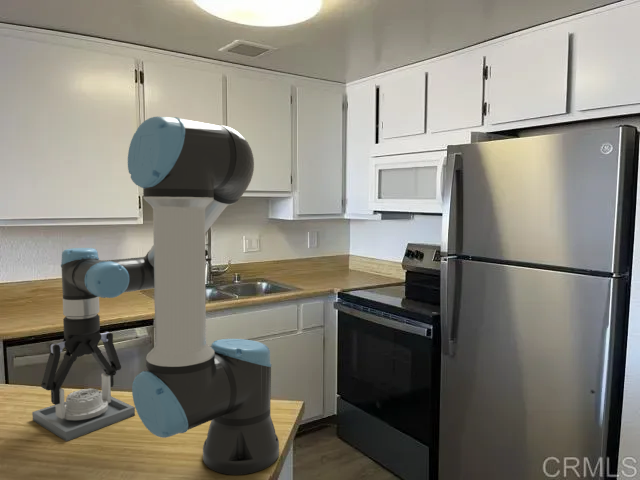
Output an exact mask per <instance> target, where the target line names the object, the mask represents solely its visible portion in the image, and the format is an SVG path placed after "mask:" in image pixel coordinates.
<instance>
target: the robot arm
mask: <svg viewBox="0 0 640 480" xmlns="http://www.w3.org/2000/svg"><path fill="white" fill-rule="evenodd" d="M254 159H255V158H254V154H253V150H252V148H251V147H250V144H249V142H248V141H247V139H246V138H245V137H244V136H243V135H242V134H241V133H240V132H238V131H237V130H235V129H234V128H232V127H230V126H226V125H222V124H213V123H208V122H202V121H196V120H190V119H187V118H179V117H176V116H175V117H173V116H171V117H169V116H153V117H152V116H151V117H149V118H147V119H146V120H144V121H143V122H142V123H140V125H139V126H137V129H136V131H135V133H134V134H133V136H132V137H131V140H130V144H129V146H128V153H127V171H128V173H129V175H130V179H131V181H132V182H133V183H134V184H135V185H136V186H137V187H139V188H142V189H143V190H142V191H143V192H142V195H143V196H142V197H143V198H142V199H143V200H144V201H145V202H146V203H148V205H149V206H151V208H152V221H153V223H152V225H153V227H152V228H153V229H152V231H153V245H152V246H151V248H150V249H149V250H148V252H147V253H146V254H145V256H139V257H131V258H119V259H117V258H116V259H106V260H105V259H103V260H101V259H100V258H99V254H98V250H97V249H96V248H93V247H73V248H66V249H63V251H62V252H61V264H60V268H61V286H62V287H61V288H62V289H61V290H62V315H64V317H63V319H62V320H63V335H64V337H63V340H62V341H61V342H58V343H54V342H50V343H49V345H48V347H49V350H48V351H49V355H48V359H47V363H46V366H45V370H44V374H43V377H42V382H41V383H40V384H41V388H42V389H43V390H46V391H50V401H51V404H53V405H55V406H56V416H57V417H59V418H61V419H63V418H65V402H66V401H65V389H64V388H62V386H63V383H64V382H65V380H66V378H67V376H68V374H69V372H70V370H71V368H72V365H73V364H74V363H75V362H76V360H77V359H78V358H80V357H81V358H82V357H83V356H85V355H87V356H88V355H92V357H94V359H95V361H96V362H97V364H98V365H99V366H100V367H101V369H102V370H103V372H104V373H101V391H102V399H105V400H107V402H108V403H110V402H111V396H112V392H111V391H112V389H111V388H113V387H114V381H115V380H114V376H115V375H116V374H117V371H120V370H121V368H122V365H121V362H120V360H119V357H118V353H117V351H116V347H115V344H114V334H113V333H112V332H109V331H104V332H103V333H100V328H101V323H100V321H101V319H100V315H99V313H100V298H103V299H106V298H107V299H113V298H117V297H119V296H120V295H122V294H123V293H130V292H137V291H142V290H150V289H151V290H152V289H153V291H154V293H153V294H154V297H153V298H154V342H155V343H154V347H153V348H152V349H151V350H150V351H149V352H148V353H147V354H146V358H145V361H146V362H145V363H146V365H145V367H146V370H144V371H141V372H139V373H138V374H137V375H136V376H135V377H134V380H133V381H132V387H131V392H132V393H131V394H132V401H133V405H134V407H135V411H136V413H137V415H138V417H139V419H140V420H141V423H142V424H143V425H144V427H145V428H146V429H147V430H148V431H149V432H150V433H151V434H152V435H154V436H156V437H158V438H163V439H164V438H170V437H173V436H175V435H178V434H184V433H187V432H188V431H189V430H191V429H194V428H196V427H199V426H201V425H204V424H206V423H207V422H208V423H209V422H210V425H209V427H208V431H207V434H206V435H207V436H206V438H205V441H204V443H203V446H202V460H203V463H204V465H205V466H206V467H207V468H208V469H210V470H212V471H214V472H216V473H220V474H225V475H231V476H233V475H234V476H235V475H237V476H241V475H247V474H248V475H249V474H252V473H253V474H254V473H256V472H260V471H262V470H265V469H266V468H268V467H270V466H271V465H273V464H275V462H276V461H277V460H278V458H279V455H280V442H279V441H280V440H279V437H278V435H277V433H276V429H275V425H274V423H273V420H272V416H271V397H272V396H271V395H272V394H271V393H272V392H271V389H272V386H271V384H272V382H271V381H272V380H271V379H272V367H273V366H272V362H271V351H270V348H269V347H268V346H267V345H266V344H265V343H264V342H259V341H257V340H251V339H243V338H223V339H217V340H214V341H213V342H212V343H211V346H210V345H209V344H208V343H207V333H206V332H207V329H206V327H207V325H206V321H207V318H206V315H207V311H206V309H207V307H206V305H207V304H206V300H207V299H206V296H207V295H206V233H208V231H209V229H210V228H211V227H212V225H214V223H215V222H216V221H217V219H219V216H220V215H221V214H222V213H223V212H224V210H225V209H226V208H227V207H228V206H231V205H235V204H236V203H237V202H238V201H239V200H240V198H242V196H243V195H244V194H245V193H246V191H247V190H248V187H249V186H250V184H251V181H252V179H253V175H254V170H255V160H254ZM99 342H102V343H103V346H104V349H105V353H106V355H107V358H108V360H107V358H106V356H105V355H104V354H103V353H102V350H101V349H100V347H99V346H98V345H99ZM63 349H65V353H64V354H63V359H62V361H61V363H60V364H59V362H60V359H61V353H63ZM58 365H59V367H58Z"/></svg>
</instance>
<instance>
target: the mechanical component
mask: <svg viewBox="0 0 640 480" xmlns="http://www.w3.org/2000/svg"><path fill="white" fill-rule="evenodd" d="M65 402H66V405H65V418H64V419H67V420H84V419H89V418H93V417H96V416H98V415H100V414H102V413H104V412H105V411H106V410H107V409H108V402H107V400H105V399H102V390H99V388H84V389H83V388H81V389H78V390H76V391H73V392H70V393H69V394H67V396H66V397H65Z"/></svg>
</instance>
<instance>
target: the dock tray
mask: <svg viewBox="0 0 640 480" xmlns="http://www.w3.org/2000/svg"><path fill="white" fill-rule="evenodd" d="M64 402H65V405H66V401H64ZM135 411H136V408H135V406H133V405H131V404H129V403H126V402H124V401H123V400H120V399H118V398H116V397H114V396H112V395H111V402H110V403H108V409H107V410H106V411H105V412H104V413H102V414H100V415H98V416H96V417H93V418H89V419H84V420H67V419H64V418H63V419H61V418H59V417H57V416H56V406H55V404H53V405H50V406H47V407H44V408H40V409H38V410H35V411H32V421H33V422H35V423H36V424H38V425H40V426H41V427H43V428H44V429H46V430H48V431H49V432H51V434H54V435H55V436H57V437H58V438H60V439H62V440H63V441H65V442H68V441H71V440H73V439H77V438H79V437H81V436H84V435H87V434H90V433H92V432H95V431H98V430H100V429H103V428H105V427H107V426H111V425H114V424H115V423H116V424H117V423H118V422H121V421H123V420H126V419H129V418H132V417H134V416H136V412H135Z"/></svg>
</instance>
